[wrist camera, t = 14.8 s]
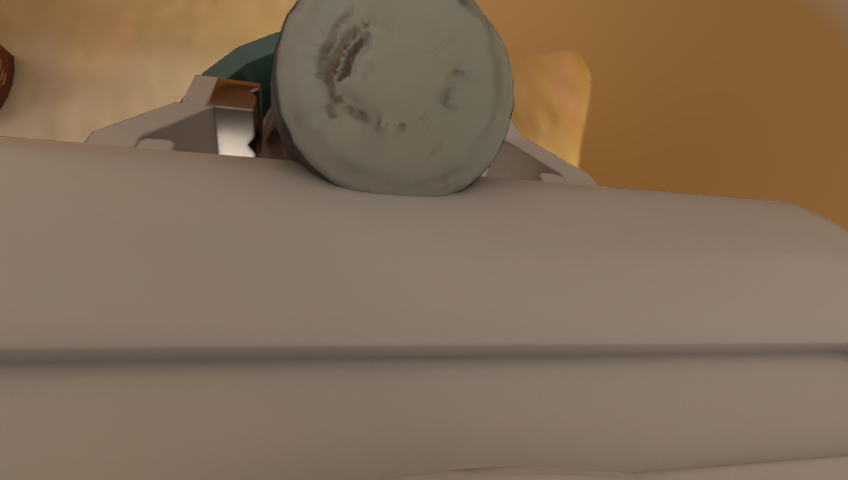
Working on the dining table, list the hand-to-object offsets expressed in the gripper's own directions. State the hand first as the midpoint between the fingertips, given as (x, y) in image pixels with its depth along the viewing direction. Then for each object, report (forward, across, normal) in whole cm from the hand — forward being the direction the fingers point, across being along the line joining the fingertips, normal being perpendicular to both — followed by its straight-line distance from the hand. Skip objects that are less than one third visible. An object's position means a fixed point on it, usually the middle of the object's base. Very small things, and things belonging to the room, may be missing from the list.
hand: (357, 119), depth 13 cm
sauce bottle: (+10, 0, +11) cm, 15 cm away
